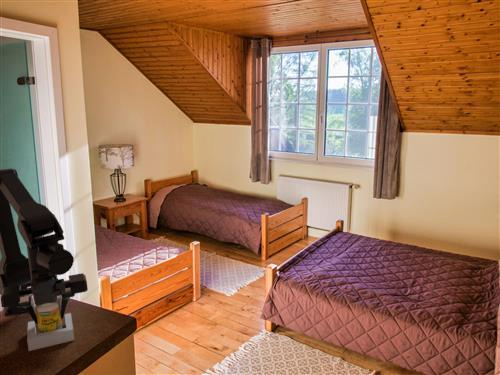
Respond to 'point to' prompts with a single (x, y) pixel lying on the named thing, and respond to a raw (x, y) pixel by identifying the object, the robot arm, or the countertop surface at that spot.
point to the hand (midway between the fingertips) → (49, 320)
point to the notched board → (49, 335)
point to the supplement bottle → (49, 317)
